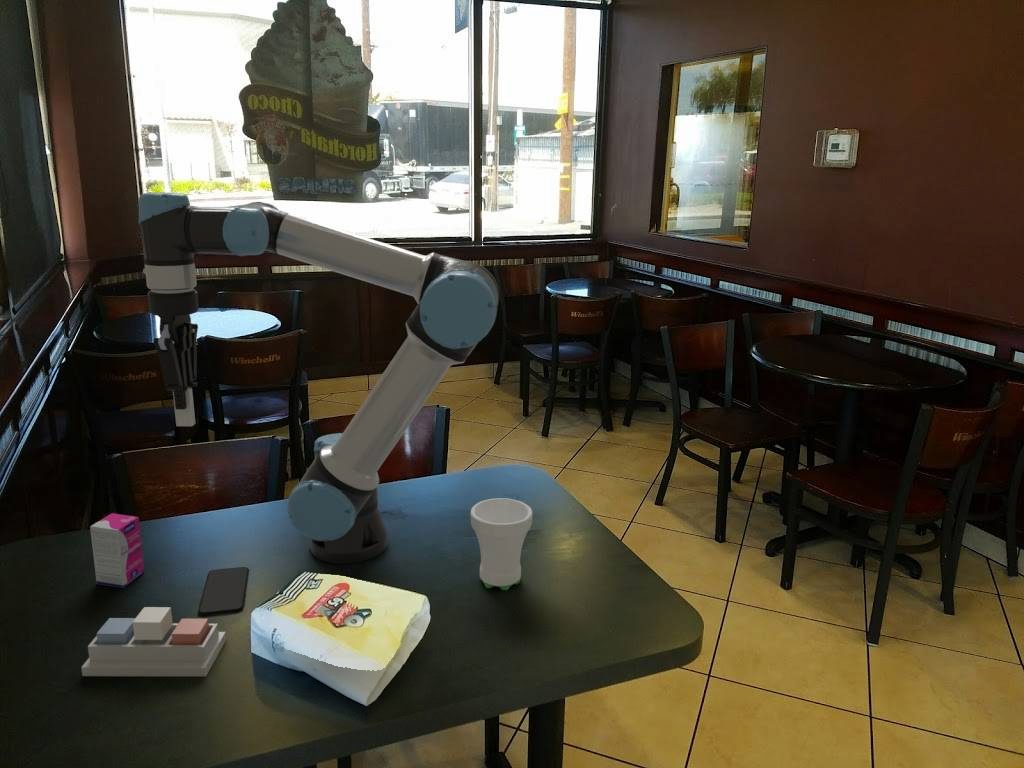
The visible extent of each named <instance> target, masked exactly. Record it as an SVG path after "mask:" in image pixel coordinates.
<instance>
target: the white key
mask: <svg viewBox="0 0 1024 768" xmlns="http://www.w3.org/2000/svg"><path fill="white" fill-rule="evenodd" d="M172 625H173V614H172V607H167V606H165V607H164V606H160V607H159V606H144V607H143V608H142V609H141V611H140V612H139V613H138V615H137V616H136V617H135V620H134V621H133V629H134V637H135V640H162V639H163V638H164V636H165V635H166V633H167V632H168V630H169V629H170V628H171V626H172Z"/></svg>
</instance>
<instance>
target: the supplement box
mask: <svg viewBox="0 0 1024 768" xmlns="http://www.w3.org/2000/svg"><path fill="white" fill-rule="evenodd" d="M89 526H90V527H89V528H90V539H91V546H92V555H93V556H92V557H93V562H94V571H95V581H96V584H97V585H100V586H101V585H102V586H110V587H114V588H115V587H116V588H121V589H124V588H126V586H128V584H130V583H132V581H134V580H135V579H136V578H138V577H139V576H141V575H143V574H144V572H145V568H144V558H143V557H144V556H143V549H142V548H143V547H142V538H141V528H140V527H141V526H140V518H139V517H138V516H134V515H128V514H127V515H126V514H119V513H113V512H112V513H110V514H108V515H107V516H105V517H103V518H102V519H100V520H99V521H97V522H95V523H93V524H92V525H89Z"/></svg>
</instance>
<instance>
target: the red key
mask: <svg viewBox="0 0 1024 768" xmlns="http://www.w3.org/2000/svg"><path fill="white" fill-rule="evenodd" d="M178 623H179V624H178V625H177V627H176V628H175V629H174V631H173V632H172V643H173V645H202V644H203V642H204V640H205V639H206V637H207V635H208V634H209V624H210V623H209V618H181V619H180V621H179V622H178Z"/></svg>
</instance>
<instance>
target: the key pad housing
mask: <svg viewBox="0 0 1024 768" xmlns="http://www.w3.org/2000/svg"><path fill="white" fill-rule="evenodd" d="M178 624H179V622H178V623H177V622H174V623H173V625H172V626H171V628H170V629H169V630H168V632H167V633H166V635H165V636H164V638H163V639H162V640H135V637H134V636H133V637H132V639H131V640H130V641H129V643H128V644H127V645H98V640H97V635H96V636H95V637H94V638H93V639H92V641H91V642H90V643H89V644H88V646H87V652H88V658H87V659H86V661H85V662H84V664H83V665H81V667H80V668H81V673H82V677H204V678H205V677H207V675H208V674H209V672H210V670H211V668H212V666H213V665H214V663H215V661H216V660H217V658H218V656H219V654H220V653H221V651H222V649H223V647H224V644H225V643H226V641H227V633H226V631H219V624H218V623H209V634H208V635H207V637H206V639H205V640H204V642H203V644H202V645H173V643H172V632H173V631H174V629H175V628H176V627H177V625H178Z"/></svg>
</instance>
